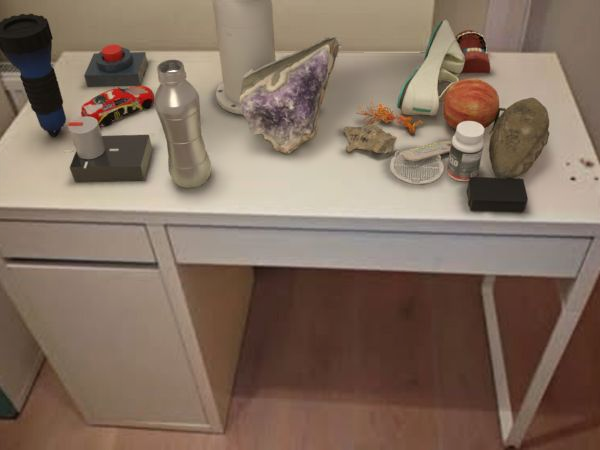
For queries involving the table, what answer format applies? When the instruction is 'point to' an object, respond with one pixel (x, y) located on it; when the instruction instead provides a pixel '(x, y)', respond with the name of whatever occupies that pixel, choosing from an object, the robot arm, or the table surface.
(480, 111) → the fruit
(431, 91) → the white wedge shoe
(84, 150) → the stove knob
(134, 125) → the table surface
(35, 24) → the flashlight
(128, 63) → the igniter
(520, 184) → the ink cartridge
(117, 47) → the button
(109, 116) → the race car
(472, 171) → the pill bottle
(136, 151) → the panel
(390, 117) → the dragon
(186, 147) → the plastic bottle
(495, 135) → the stone
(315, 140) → the table surface
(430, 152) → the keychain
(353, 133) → the artifact
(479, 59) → the dental model
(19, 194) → the table surface
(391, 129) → the table surface
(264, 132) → the gemstone
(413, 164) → the drain cover
